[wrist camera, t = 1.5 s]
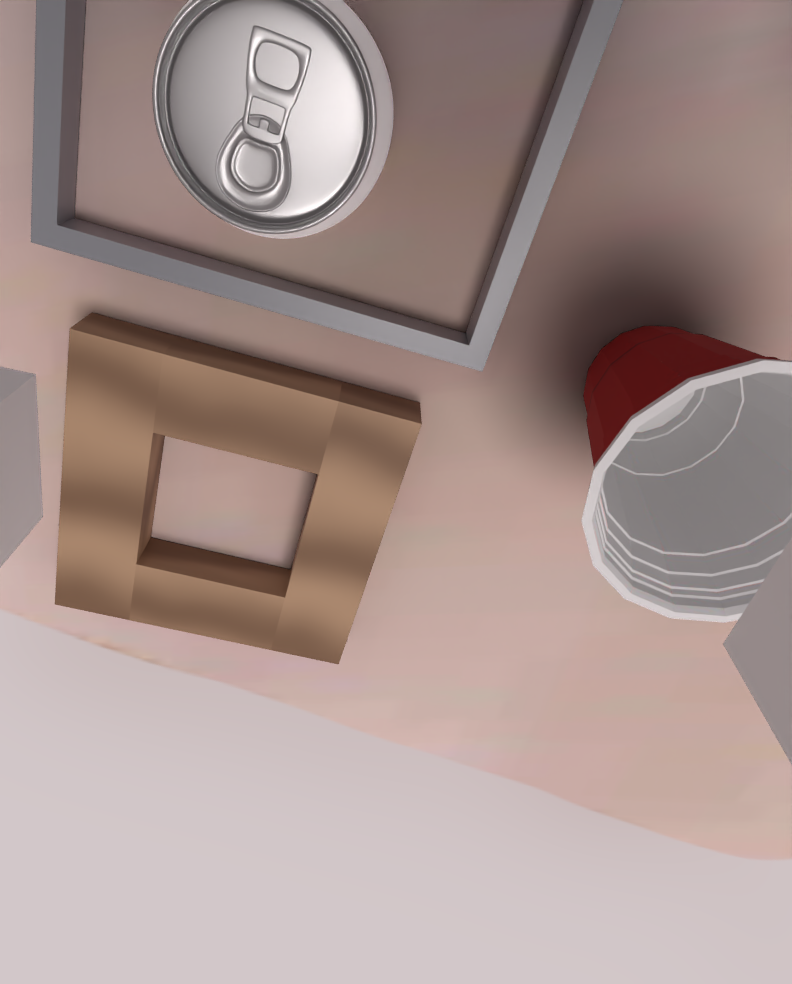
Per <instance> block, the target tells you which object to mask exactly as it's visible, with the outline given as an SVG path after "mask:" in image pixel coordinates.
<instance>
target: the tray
mask: <svg viewBox="0 0 792 984" xmlns="http://www.w3.org/2000/svg"><path fill="white" fill-rule="evenodd" d="M622 3H623V0H584V2H583V4H582V7H581V10H580V13H579V16H578V19H577V21H576V24H575V27H574V30H573V33H572V35H571V38H570V41H569V44H568V47H567V49H566V52H565V55H564V58H563V61H562V63H561V66H560V69H559V72H558V75H557V78H556V80H555V83H554V86H553V89H552V92H551V94H550V97H549V100H548V103H547V106H546V108H545V111H544V114H543V117H542V120H541V122H540V125H539V128H538V131H537V134H536V137H535V139H534V142H533V145H532V148H531V151H530V153H529V156H528V159H527V162H526V165H525V167H524V170H523V173H522V176H521V179H520V181H519V184H518V187H517V190H516V193H515V196H514V198H513V201H512V204H511V207H510V210H509V212H508V215H507V218H506V221H505V224H504V226H503V229H502V232H501V235H500V238H499V240H498V243H497V246H496V249H495V252H494V255H493V257H492V260H491V263H490V266H489V269H488V271H487V274H486V277H485V280H484V283H483V285H482V288H481V291H480V294H479V297H478V299H477V302H476V305H475V308H474V311H473V314H472V316H471V319H470V322H469V325H468V328H467V330H466V333H463V332H459V331H456V330H453V329H449V328H446V327H442V326H439V325H436V324H432V323H429V322H425V321H422V320H419V319H415V318H412V317H408V316H405V315H402V314H398V313H395V312H392V311H388V310H385V309H381V308H378V307H375V306H371V305H368V304H364V303H361V302H358V301H354V300H351V299H347V298H344V297H341V296H337V295H334V294H330V293H327V292H324V291H320V290H317V289H313V288H310V287H307V286H303V285H300V284H297V283H293V282H290V281H286V280H283V279H280V278H276V277H273V276H269V275H266V274H263V273H259V272H256V271H252V270H249V269H246V268H242V267H239V266H235V265H232V264H229V263H225V262H222V261H219V260H215V259H212V258H208V257H205V256H202V255H198V254H195V253H191V252H188V251H185V250H181V249H178V248H174V247H171V246H168V245H164V244H161V243H157V242H154V241H151V240H147V239H144V238H141V237H137V236H134V235H130V234H127V233H124V232H120V231H117V230H113V229H110V228H107V227H103V226H100V225H96V224H93V223H90V222H86V221H83V220H79V219H76V218H74V216H75V197H76V178H77V159H78V140H79V121H80V103H81V84H82V65H83V46H84V27H85V8H86V0H36V39H35V82H34V126H33V169H32V213H31V242H32V243H36V244H39V245H43V246H46V247H50V248H53V249H56V250H60V251H63V252H67V253H70V254H74V255H77V256H81V257H84V258H88V259H91V260H95V261H98V262H102V263H105V264H109V265H112V266H116V267H119V268H123V269H126V270H130V271H133V272H137V273H140V274H144V275H147V276H151V277H154V278H158V279H161V280H164V281H168V282H171V283H175V284H178V285H182V286H185V287H189V288H192V289H196V290H199V291H203V292H206V293H210V294H213V295H217V296H220V297H224V298H227V299H231V300H234V301H238V302H241V303H245V304H248V305H252V306H255V307H259V308H262V309H266V310H269V311H272V312H276V313H279V314H283V315H286V316H290V317H293V318H297V319H300V320H304V321H307V322H311V323H314V324H318V325H321V326H325V327H328V328H332V329H335V330H339V331H342V332H346V333H349V334H353V335H356V336H360V337H363V338H367V339H370V340H374V341H377V342H380V343H384V344H387V345H391V346H394V347H398V348H401V349H405V350H408V351H412V352H415V353H419V354H422V355H426V356H429V357H433V358H436V359H440V360H443V361H447V362H450V363H454V364H457V365H461V366H464V367H468V368H471V369H475V370H478V371H483V369H484V366H485V363H486V361H487V358H488V356H489V353H490V350H491V348H492V345H493V342H494V340H495V337H496V334H497V332H498V329H499V327H500V324H501V321H502V319H503V316H504V313H505V311H506V308H507V305H508V303H509V300H510V298H511V295H512V292H513V290H514V287H515V284H516V282H517V279H518V277H519V274H520V271H521V269H522V266H523V263H524V261H525V258H526V255H527V253H528V250H529V248H530V245H531V242H532V240H533V237H534V234H535V232H536V229H537V227H538V224H539V221H540V219H541V216H542V213H543V211H544V208H545V205H546V203H547V200H548V198H549V195H550V192H551V190H552V187H553V184H554V182H555V179H556V177H557V174H558V171H559V169H560V166H561V163H562V161H563V158H564V155H565V153H566V150H567V148H568V145H569V142H570V140H571V137H572V134H573V132H574V129H575V126H576V124H577V121H578V119H579V116H580V113H581V111H582V108H583V105H584V103H585V100H586V98H587V95H588V92H589V90H590V87H591V84H592V82H593V79H594V76H595V74H596V71H597V69H598V66H599V63H600V61H601V58H602V55H603V53H604V50H605V48H606V45H607V42H608V40H609V37H610V34H611V32H612V29H613V26H614V24H615V21H616V19H617V16H618V13H619V11H620V8H621V5H622Z"/></svg>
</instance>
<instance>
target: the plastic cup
mask: <svg viewBox="0 0 792 984" xmlns="http://www.w3.org/2000/svg"><path fill="white" fill-rule="evenodd" d="M583 397H584V401H585V406H586V410H587V420H586V421H587V427H588V433H589V439H590V445H591V452H592V458H593V464H594V470H593V474H592V479H591V483H590V487H589V491H588V495H587V499H586V504H585V508H584V512H583V516H582V525H583V529H584V533H585V536H586V540H587V544H588V548H589V552H590V556H591V560H592V563H593V566H594V567H595V568H596V569H597V570H598V571H599V572H600V573H601V574H602V575H603V577H604V578H605V579H606V580H607V581H608V582H609V583H610V584H611V585H612V586H613V587H614V588H615V589H616V590H617V592H618V593H619V594H620V595H621V596H622V597H623V598H624V599H626V600H628V601H631V602H633V603H635V604H638V605H640V606H642V607H645V608H647V609H649V610H652V611H654V612H656V613H659V614H661V615H663V616H666V617H668V618H673V619H686V620H699V621H711V622H724V623H725V622H730V621H735V620H739V618H740V617H741V615H742V614H743V612H744V611H745V609H746V608H747V606H748V605H749V603H750V601H751V600H752V598H753V597H754V595H755V594H756V592H757V591H758V589H759V588H760V586H761V584H762V583H763V581H764V580H765V578H766V577H767V575H768V574H769V572H770V571H771V569H772V567H773V566H774V564H775V563H776V561H777V560H778V558H779V557H780V555H781V554H782V552H783V550H784V549H785V547H786V546H787V544H788V543H789V541H790V540H791V538H792V361H787V360H780V359H777V358H775V357H765V356H762V355H759V354H756V353H753V352H750V351H748V350H745V349H742V348H739V347H736V346H734V345H731V344H728V343H725V342H722V341H720V340H717V339H714V338H711V337H708V336H705V335H703V334H693V333H690V332H687V331H684V330H681V329H679V328H676V327H664V326H643V327H640V328H637V329H634V330H631V331H628V332H625V333H622V334H620V335H619V336H617V337H616V338H615V339H614V340H612V341H611V342H610V343H608V344H607V345H606V346H605V347H603V348H602V349H601V350H600V352H599V353H598V355H597V356H596V358H595V360H594V361H593V363H592V364H591V366H590V367H589V369H588V374H587V379H586V384H585V389H584V395H583Z"/></svg>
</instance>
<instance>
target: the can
mask: <svg viewBox="0 0 792 984" xmlns="http://www.w3.org/2000/svg"><path fill="white" fill-rule="evenodd" d="M152 100H153V112H154V119H155V124H156V128H157V132H158V136H159V139H160V142H161V145H162V148H163V150H164V153H165V155H166V157H167V159H168V161H169V163H170V165H171V167H172V169H173V171H174V172H175V174H176V175H177V177H178V178H179V180H180V181H181V183H182V184H183V185H184V187H185V188H186V189H187V190H188V191H189V193H190V194H191V195H192V196H193V197H194V198H195V199H196V200H197V201H198V202H199V203H200V204H201V205H203V206H204V207H205V208H206V209H207V210H209V211H210V212H211V213H213V214H214V215H216V216H217V217H219V218H221V219H222V220H224V221H225V222H227V223H229V224H231V225H232V226H234V227H236V228H238V229H241V230H243V231H246V232H248V233H252V234H255V235H259V236H263V237H269V238H279V239H290V238H299V237H305V236H309V235H313V234H316V233H319V232H321V231H324V230H326V229H328V228H330V227H332V226H334V225H336V224H337V223H339V222H340V221H342V220H343V219H345V218H346V217H347V216H349V215H350V214H351V213H352V212H353V211H354V210H355V209H356V208H357V207H358V206H359V205H360V204H361V203H362V202H363V201H364V200H365V198H366V197H367V196H368V194H369V193H370V191H371V190H372V188H373V187H374V185H375V183H376V182H377V180H378V178H379V176H380V174H381V172H382V169H383V167H384V164H385V162H386V159H387V155H388V152H389V148H390V143H391V138H392V131H393V118H394V107H393V95H392V88H391V83H390V79H389V75H388V72H387V69H386V66H385V63H384V60H383V58H382V55H381V53H380V51H379V49H378V47H377V45H376V43H375V41H374V39H373V37H372V36H371V34H370V32H369V31H368V29H367V28H366V26H365V25H364V24H363V22H362V21H361V20H360V18H359V17H358V16H357V15H356V14H355V12H354V11H353V10H352V9H351V8H350V7H349V6H348V5H347V4H346V3H345V2H344V1H343V0H189V1H188V2H187V3H186V4H185V5H184V6H183V8H182V9H181V10H180V12H179V13H178V15H177V16H176V18H175V19H174V21H173V23H172V24H171V26H170V28H169V30H168V32H167V34H166V36H165V38H164V40H163V42H162V45H161V47H160V50H159V53H158V56H157V60H156V64H155V69H154V76H153V88H152Z"/></svg>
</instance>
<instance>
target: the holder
mask: <svg viewBox="0 0 792 984" xmlns="http://www.w3.org/2000/svg"><path fill="white" fill-rule="evenodd" d="M421 425H422V422H421V411H420V403H418V402H414V401H411V400H407V399H404V398H400V397H396V396H393V395H389V394H385V393H382V392H378V391H375V390H371V389H367V388H364V387H360V386H356V385H353V384H349V383H346V382H342V381H338V380H335V379H331V378H327V377H324V376H320V375H317V374H313V373H309V372H306V371H302V370H298V369H295V368H291V367H288V366H284V365H280V364H277V363H273V362H269V361H266V360H262V359H259V358H255V357H251V356H248V355H244V354H240V353H237V352H233V351H230V350H226V349H222V348H219V347H215V346H211V345H208V344H204V343H201V342H197V341H193V340H190V339H186V338H182V337H179V336H175V335H171V334H168V333H164V332H161V331H157V330H153V329H150V328H146V327H142V326H139V325H135V324H132V323H128V322H124V321H121V320H117V319H113V318H110V317H106V316H103V315H99V314H95V313H90V314H89V315H88V316H86V317H85V318H84V319H82V320H81V321H80V322H78V323H77V324H75V325H74V326H73V327H71V328H70V333H69V351H68V370H67V388H66V407H65V425H64V444H63V462H62V481H61V499H60V518H59V536H58V555H57V573H56V592H55V604H56V605H61V606H65V607H70V608H75V609H80V610H84V611H89V612H94V613H99V614H103V615H108V616H113V617H117V618H122V619H127V620H132V621H136V622H141V623H146V624H150V625H155V626H160V627H165V628H169V629H174V630H179V631H184V632H188V633H193V634H198V635H202V636H207V637H212V638H217V639H221V640H226V641H231V642H236V643H240V644H245V645H250V646H254V647H259V648H264V649H269V650H273V651H278V652H283V653H287V654H292V655H297V656H302V657H306V658H311V659H316V660H321V661H325V662H330V663H335V664H339V661H340V658H341V655H342V653H343V650H344V647H345V644H346V641H347V638H348V635H349V632H350V629H351V627H352V624H353V621H354V618H355V615H356V612H357V609H358V606H359V603H360V601H361V598H362V595H363V592H364V589H365V586H366V583H367V580H368V578H369V575H370V572H371V569H372V566H373V563H374V560H375V557H376V554H377V552H378V549H379V546H380V543H381V540H382V537H383V534H384V531H385V528H386V526H387V523H388V520H389V517H390V514H391V511H392V508H393V505H394V502H395V500H396V497H397V494H398V491H399V488H400V485H401V482H402V479H403V477H404V474H405V471H406V468H407V465H408V462H409V459H410V456H411V453H412V451H413V448H414V445H415V442H416V439H417V436H418V433H419V430H420V427H421ZM165 436H168V437H172V438H176V439H180V440H184V441H188V442H192V443H196V444H200V445H204V446H208V447H212V448H216V449H220V450H224V451H228V452H232V453H236V454H240V455H243V456H247V457H251V458H255V459H259V460H263V461H267V462H271V463H275V464H279V465H283V466H287V467H291V468H295V469H299V470H303V471H307V472H311V473H315V474H317V476H316V480H315V483H314V487H313V491H312V495H311V498H310V502H309V506H308V509H307V513H306V517H305V520H304V524H303V528H302V531H301V535H300V539H299V542H298V546H297V550H296V553H295V557H294V561H293V564H292V568H291V570H289V569H285V568H281V567H276V566H272V565H268V564H263V563H259V562H255V561H250V560H246V559H242V558H237V557H233V556H229V555H224V554H220V553H216V552H211V551H207V550H203V549H198V548H194V547H190V546H185V545H181V544H177V543H172V542H168V541H164V540H159V539H155V538H151V532H152V525H153V517H154V510H155V503H156V496H157V488H158V481H159V474H160V467H161V459H162V452H163V445H164V437H165Z"/></svg>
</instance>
